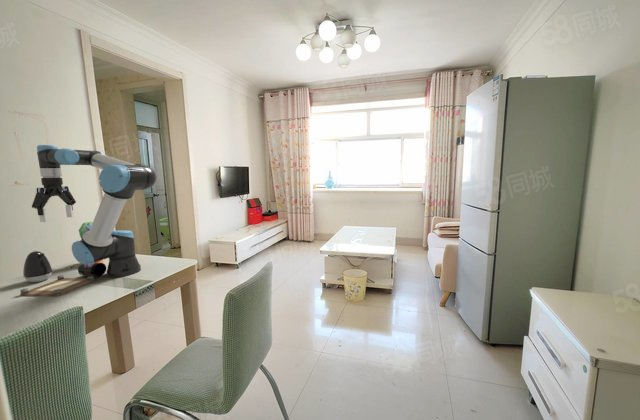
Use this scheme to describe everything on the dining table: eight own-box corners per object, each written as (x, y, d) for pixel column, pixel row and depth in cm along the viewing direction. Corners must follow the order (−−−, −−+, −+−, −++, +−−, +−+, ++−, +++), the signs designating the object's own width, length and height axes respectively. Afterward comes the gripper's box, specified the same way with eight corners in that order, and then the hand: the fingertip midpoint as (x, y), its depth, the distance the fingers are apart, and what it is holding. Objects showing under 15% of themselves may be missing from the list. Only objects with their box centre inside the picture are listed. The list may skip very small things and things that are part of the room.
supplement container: (92, 265, 150) (108, 265, 147) (86, 277, 146) (102, 278, 144) (81, 260, 144) (97, 260, 142) (74, 273, 140) (91, 273, 138)
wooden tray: (95, 280, 139) (94, 275, 138) (57, 296, 120) (56, 291, 120) (61, 279, 140) (60, 275, 140) (19, 296, 122) (18, 290, 122)
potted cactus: (73, 268, 157) (67, 225, 153) (81, 261, 170) (76, 221, 167) (107, 264, 164) (102, 222, 161) (112, 257, 177) (107, 218, 174)
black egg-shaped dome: (35, 285, 134) (30, 254, 132) (19, 283, 136) (13, 253, 134) (58, 277, 144) (54, 248, 142) (43, 276, 146) (38, 248, 144)
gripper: (67, 176, 149) (73, 215, 152) (16, 177, 124) (23, 224, 127) (81, 176, 149) (86, 215, 152) (32, 177, 124) (39, 224, 127)
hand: (57, 219), depth 140 cm, fingers open, 13 cm apart
